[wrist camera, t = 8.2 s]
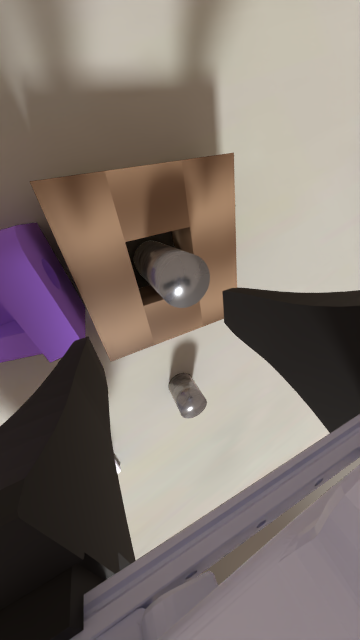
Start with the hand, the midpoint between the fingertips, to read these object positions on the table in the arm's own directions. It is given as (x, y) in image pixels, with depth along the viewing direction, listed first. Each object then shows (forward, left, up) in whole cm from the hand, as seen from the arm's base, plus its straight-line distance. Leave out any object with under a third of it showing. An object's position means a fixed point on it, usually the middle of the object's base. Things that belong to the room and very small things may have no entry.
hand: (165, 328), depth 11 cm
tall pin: (+1, -2, -9) cm, 10 cm away
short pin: (-14, -2, -9) cm, 17 cm away
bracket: (+2, +11, -10) cm, 15 cm away
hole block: (+2, -2, -9) cm, 10 cm away
